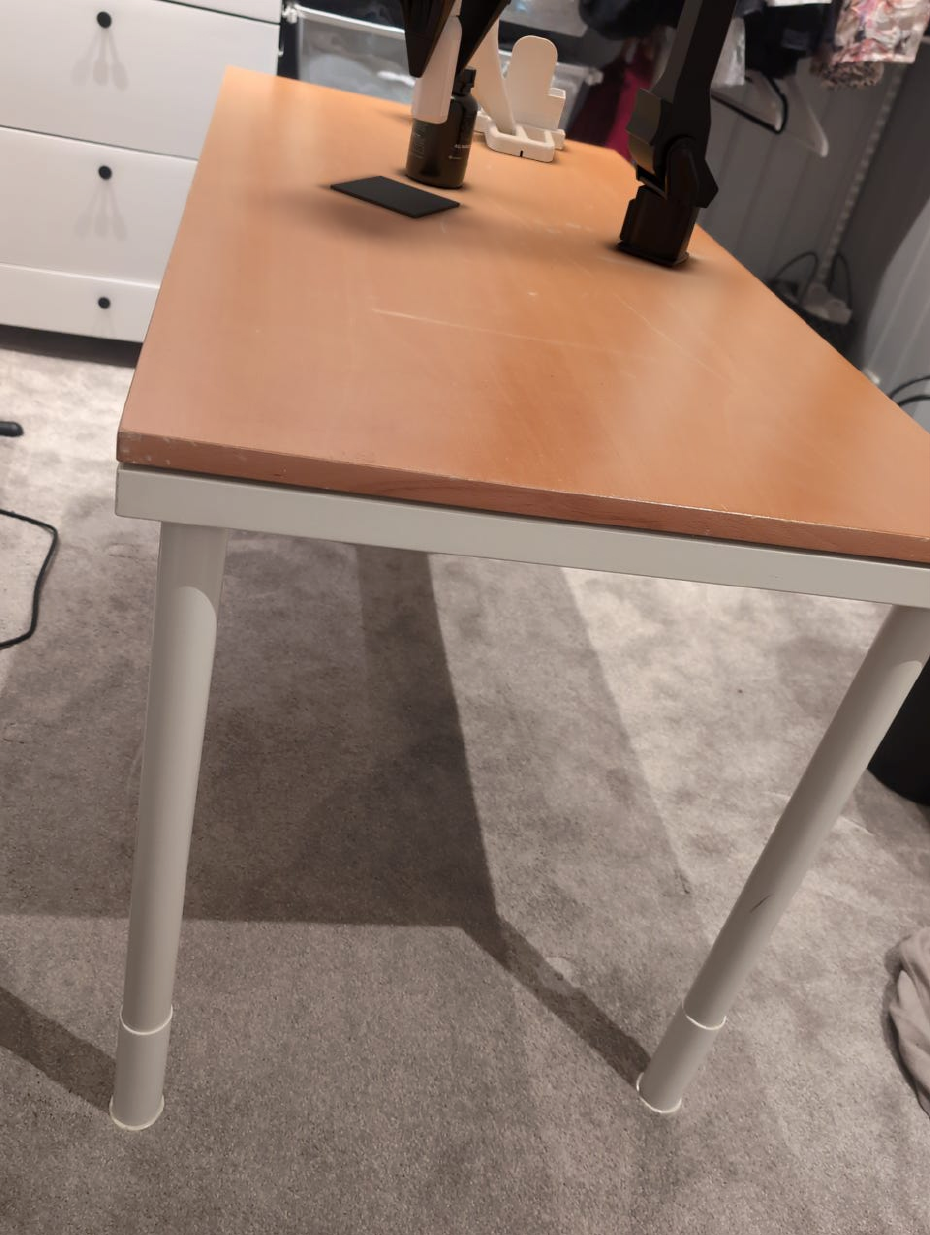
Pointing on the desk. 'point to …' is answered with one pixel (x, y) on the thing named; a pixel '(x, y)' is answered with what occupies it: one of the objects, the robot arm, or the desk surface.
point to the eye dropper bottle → (439, 74)
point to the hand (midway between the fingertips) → (435, 75)
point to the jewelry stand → (518, 97)
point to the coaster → (395, 196)
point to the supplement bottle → (445, 139)
